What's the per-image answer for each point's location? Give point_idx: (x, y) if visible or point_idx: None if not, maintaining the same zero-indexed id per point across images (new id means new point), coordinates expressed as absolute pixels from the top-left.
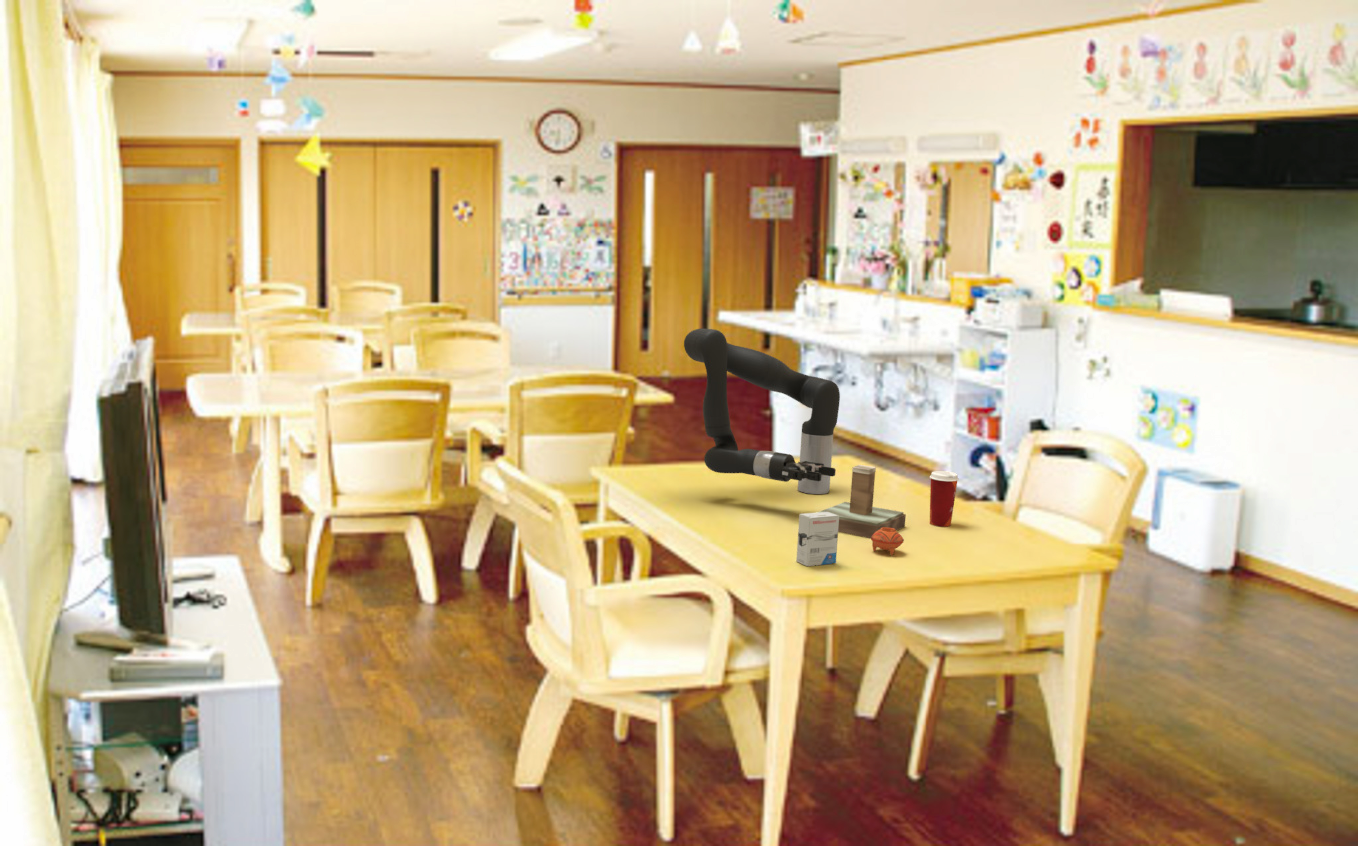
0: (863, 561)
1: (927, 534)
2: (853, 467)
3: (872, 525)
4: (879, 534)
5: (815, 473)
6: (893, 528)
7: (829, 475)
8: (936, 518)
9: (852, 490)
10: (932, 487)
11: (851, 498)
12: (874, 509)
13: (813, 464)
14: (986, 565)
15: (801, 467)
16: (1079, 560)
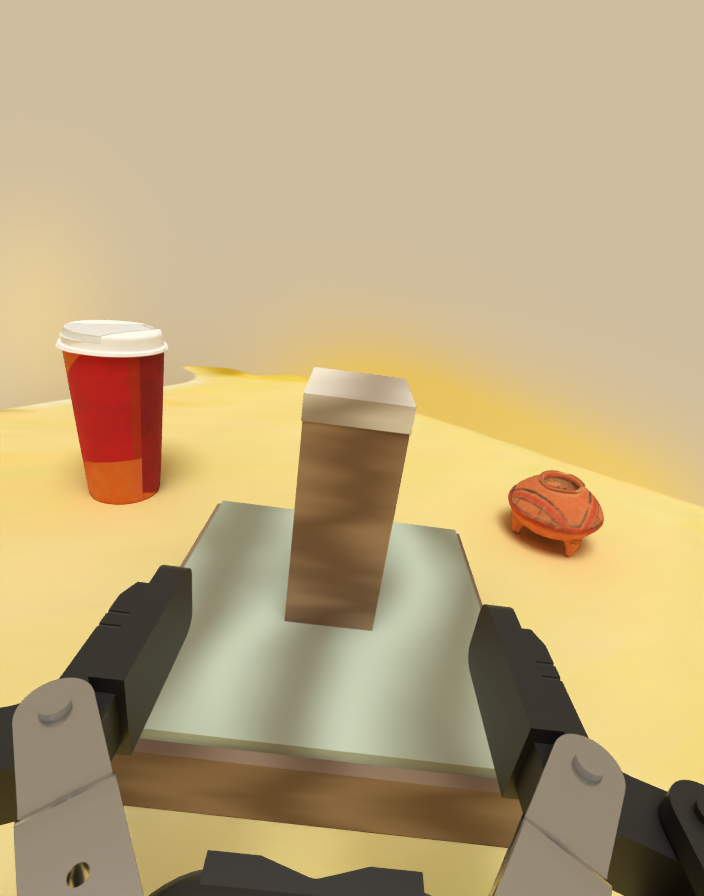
0: (676, 557)
1: (279, 498)
2: (415, 405)
3: (462, 546)
4: (596, 500)
5: (525, 649)
6: (543, 474)
7: (172, 660)
8: (157, 472)
9: (390, 528)
10: (139, 387)
11: (383, 567)
12: (234, 567)
13: (117, 797)
14: (443, 435)
15: (584, 864)
16: (306, 384)
